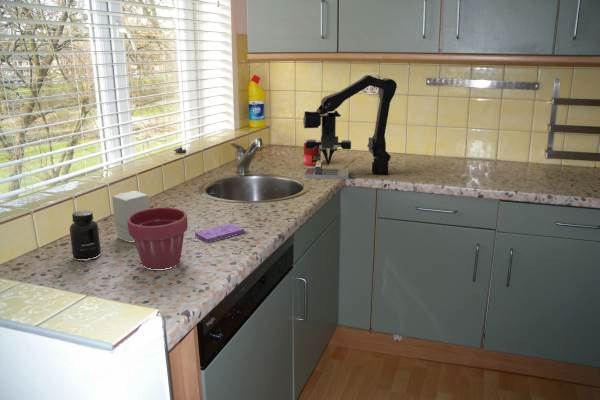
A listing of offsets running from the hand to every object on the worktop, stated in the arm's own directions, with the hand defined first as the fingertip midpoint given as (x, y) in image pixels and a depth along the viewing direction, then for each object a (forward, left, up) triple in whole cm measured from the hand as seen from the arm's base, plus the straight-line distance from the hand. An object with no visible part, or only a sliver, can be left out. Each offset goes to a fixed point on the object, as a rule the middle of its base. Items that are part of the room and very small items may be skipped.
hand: (328, 164), depth 213 cm
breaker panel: (0, 0, -5) cm, 5 cm away
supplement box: (+50, +79, -5) cm, 94 cm away
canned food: (+9, -20, -5) cm, 22 cm away
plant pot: (+35, +96, -5) cm, 102 cm away
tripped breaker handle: (+4, 0, -3) cm, 5 cm away
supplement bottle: (+56, +94, -5) cm, 109 cm away
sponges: (+26, +74, -5) cm, 79 cm away
